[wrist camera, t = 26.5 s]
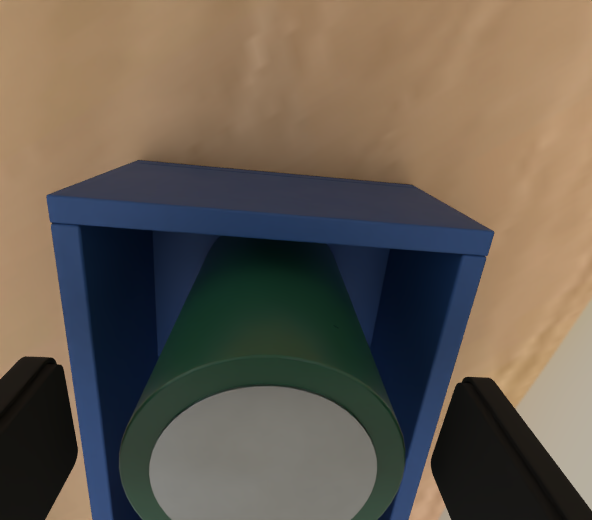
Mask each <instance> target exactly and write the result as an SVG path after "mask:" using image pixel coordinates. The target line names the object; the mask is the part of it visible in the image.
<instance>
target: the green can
mask: <svg viewBox="0 0 592 520" xmlns="http://www.w3.org/2000/svg"><path fill="white" fill-rule="evenodd" d="M404 468H405V444H404V439H403V434H402V432H401V429H400V426H399V423H398V421H397V418H396V416H395V413H394V410H393V408H392V405H391V403H390V400H389V397H388V395H387V392H386V390H385V387H384V385H383V382H382V379H381V377H380V374H379V372H378V369H377V367H376V364H375V361H374V359H373V356H372V354H371V351H370V348H369V346H368V343H367V341H366V338H365V336H364V333H363V330H362V328H361V325H360V323H359V320H358V318H357V315H356V312H355V310H354V307H353V305H352V302H351V299H350V297H349V294H348V292H347V289H346V287H345V284H344V281H343V279H342V276H341V274H340V271H339V269H338V266H337V263H336V261H335V258H334V256H333V254H332V252H331V250H330V248H329V247H328V246H327V244H322V243H309V242H296V241H283V240H270V239H257V238H244V237H231V236H221V237H219V238H218V239H217V241H216V242H215V243H214V244H213V246H212V247H211V249H210V251H209V252H208V254H207V256H206V258H205V260H204V263H203V265H202V267H201V269H200V271H199V273H198V275H197V277H196V280H195V282H194V284H193V286H192V288H191V290H190V292H189V295H188V297H187V299H186V301H185V303H184V305H183V307H182V309H181V312H180V314H179V316H178V318H177V320H176V322H175V324H174V327H173V329H172V331H171V333H170V335H169V337H168V339H167V342H166V344H165V346H164V348H163V350H162V352H161V354H160V356H159V359H158V361H157V363H156V365H155V367H154V369H153V371H152V374H151V376H150V378H149V380H148V382H147V384H146V386H145V388H144V391H143V393H142V395H141V397H140V399H139V401H138V403H137V406H136V408H135V410H134V412H133V414H132V416H131V418H130V421H129V423H128V425H127V427H126V430H125V432H124V435H123V438H122V441H121V446H120V452H119V472H120V477H121V482H122V486H123V488H124V491H125V494H126V496H127V498H128V500H129V502H130V503H131V505H132V507H133V509H134V510H135V511H136V512H137V514H138V515H139V516H140V517H141V519H142V520H378V518H379V517H380V516H381V515H382V514H383V513H384V512H385V511H386V509H387V508H388V507H389V505H390V504H391V503H392V501H393V499H394V497H395V495H396V493H397V492H398V489H399V487H400V484H401V481H402V478H403V473H404Z"/></svg>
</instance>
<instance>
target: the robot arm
mask: <svg viewBox="0 0 592 520" xmlns="http://www.w3.org/2000/svg"><path fill="white" fill-rule="evenodd" d="M77 454H78V447H77V441H76V436H75V430H74V425H73V419H72V413H71V408H70V402H69V397H68V391H67V386H66V380H65V374H64V369H63V367H62V366H61V365H57V364H56V361H55V360H54V358H48V357H23V358H21V359H20V360H19V361H18V362H17V363H16V364H15V365H14V366H13V367H12V368H11V369H10V370H9V371H8V372H7V373H6V374H5V375H4V376H3V377H2V378H1V379H0V520H45V519H46V517H47V515H48V513H49V511H50V510H51V508H52V506H53V504H54V502H55V500H56V498H57V497H58V495H59V493H60V491H61V489H62V487H63V485H64V483H65V482H66V480H67V478H68V476H69V474H70V472H71V470H72V469H73V467H74V464H75V462H76V459H77ZM431 469H432V473H433V476H434V479H435V481H436V483H437V486H438V488H439V491H440V493H441V496H442V498H443V501H444V503H445V505H446V508H447V510H448V513H449V515H450V518H451V520H592V511H591V509H590V508H589V507H588V505H587V504H586V503H585V501H584V500H583V499H582V497H581V496H580V495H579V493H578V492H577V491H576V489H575V488H574V487H573V485H572V484H571V483H570V481H569V480H568V479H567V477H566V476H565V475H564V473H563V472H562V471H561V469H560V468H559V467H558V465H557V464H556V463H555V461H554V460H553V459H552V458H551V456H550V455H549V453H548V452H547V451H546V450H545V448H544V447H543V446H542V444H541V443H540V442H539V440H538V439H537V438H536V436H535V435H534V434H533V432H532V431H531V430H530V428H529V427H528V426H527V424H526V423H525V422H524V421H523V419H522V418H521V416H520V415H519V414H518V413H517V411H516V410H515V408H514V407H513V406H512V404H511V403H510V402H509V400H508V399H507V398H506V396H505V395H504V394H503V392H502V391H501V390H500V388H499V387H498V386H497V384H496V383H495V382H494V381H493V380H492V379H490V378H480V377H465V378H464V379H463V381H462V383H458V384H457V385H456V387H455V390H454V393H453V396H452V398H451V401H450V404H449V407H448V410H447V413H446V416H445V419H444V422H443V425H442V428H441V431H440V434H439V437H438V440H437V443H436V446H435V449H434V452H433V455H432V458H431Z"/></svg>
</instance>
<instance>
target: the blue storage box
mask: <svg viewBox="0 0 592 520" xmlns="http://www.w3.org/2000/svg"><path fill="white" fill-rule="evenodd" d="M47 204H48V211H49V218H50V222H51V223H52V224H51V231H52V238H53V245H54V252H55V259H56V266H57V273H58V280H59V287H60V294H61V301H62V308H63V315H64V322H65V329H66V336H67V343H68V350H69V357H70V364H71V372H72V379H73V386H74V393H75V400H76V407H77V414H78V421H79V428H80V435H81V442H82V449H83V456H84V463H85V470H86V477H87V484H88V491H89V498H90V505H91V512H92V519H93V520H142V519H141V517H140V516H139V515H138V514H137V512H136V511H135V510H134V509H133V507H132V505H131V503H130V502H129V500H128V498H127V496H126V494H125V491H124V488H123V486H122V482H121V477H120V472H119V452H120V446H121V441H122V438H123V435H124V432H125V430H126V427H127V425H128V423H129V421H130V418H131V416H132V414H133V412H134V410H135V408H136V406H137V403H138V401H139V399H140V397H141V395H142V393H143V391H144V388H145V386H146V384H147V382H148V380H149V378H150V376H151V374H152V371H153V369H154V367H155V365H156V363H157V361H158V359H159V356H160V354H161V352H162V350H163V348H164V346H165V344H166V342H167V339H168V337H169V335H170V333H171V331H172V329H173V327H174V324H175V322H176V320H177V318H178V316H179V314H180V312H181V309H182V307H183V305H184V303H185V301H186V299H187V297H188V295H189V292H190V290H191V288H192V286H193V284H194V282H195V280H196V277H197V275H198V273H199V271H200V269H201V267H202V265H203V263H204V260H205V258H206V256H207V254H208V252H209V251H210V249H211V247H212V246H213V244H214V243H215V242H216V241H217V239H218V238H219V237H221V236H231V237H244V238H257V239H270V240H283V241H296V242H309V243H322V244H327V246H328V247H329V248H330V250H331V252H332V254H333V256H334V258H335V261H336V263H337V266H338V269H339V271H340V274H341V276H342V279H343V281H344V284H345V287H346V289H347V292H348V294H349V297H350V299H351V302H352V305H353V307H354V310H355V312H356V315H357V318H358V320H359V323H360V325H361V328H362V330H363V333H364V336H365V338H366V341H367V343H368V346H369V348H370V351H371V354H372V356H373V359H374V361H375V364H376V367H377V369H378V372H379V374H380V377H381V379H382V382H383V385H384V387H385V390H386V392H387V395H388V397H389V400H390V403H391V405H392V408H393V410H394V413H395V416H396V418H397V421H398V423H399V426H400V429H401V432H402V434H403V439H404V444H405V468H404V473H403V478H402V481H401V484H400V487H399V489H398V492H397V493H396V495H395V497H394V499H393V501H392V503H391V504H390V505H389V507H388V508H387V509H386V511H385V512H384V513H383V514H382V515H381V516H380V517H379V518H378V520H408V519H409V516H410V513H411V509H412V506H413V503H414V499H415V496H416V493H417V489H418V486H419V483H420V479H421V476H422V472H423V469H424V466H425V462H426V459H427V456H428V452H429V449H430V446H431V442H432V439H433V436H434V432H435V429H436V426H437V422H438V419H439V416H440V412H441V409H442V405H443V402H444V399H445V395H446V392H447V389H448V385H449V382H450V379H451V375H452V372H453V369H454V365H455V362H456V359H457V355H458V352H459V349H460V345H461V342H462V338H463V335H464V332H465V328H466V325H467V322H468V318H469V315H470V312H471V308H472V305H473V302H474V298H475V295H476V292H477V288H478V285H479V282H480V278H481V275H482V271H483V268H484V265H485V261H486V257H485V256H487V255H488V253H489V249H490V246H491V243H492V239H493V236H494V231H492V230H490V229H489V228H487V227H485V226H483V225H482V224H480V223H478V222H476V221H475V220H473V219H471V218H469V217H468V216H466V215H464V214H462V213H461V212H459V211H457V210H455V209H454V208H452V207H450V206H448V205H447V204H445V203H443V202H441V201H439V200H438V199H436V198H434V197H432V196H431V195H429V194H427V193H425V192H424V191H422V190H420V189H418V188H417V187H415V186H413V185H408V184H397V183H386V182H374V181H363V180H352V179H341V178H330V177H319V176H308V175H297V174H286V173H275V172H264V171H253V170H242V169H231V168H220V167H208V166H197V165H186V164H175V163H164V162H153V161H142V160H137V161H134V162H132V163H130V164H127V165H124V166H122V167H119V168H116V169H114V170H111V171H109V172H106V173H103V174H101V175H98V176H95V177H93V178H90V179H88V180H85V181H82V182H80V183H77V184H74V185H72V186H69V187H67V188H64V189H61V190H59V191H56V192H54V193H51V194H48V195H47Z"/></svg>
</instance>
